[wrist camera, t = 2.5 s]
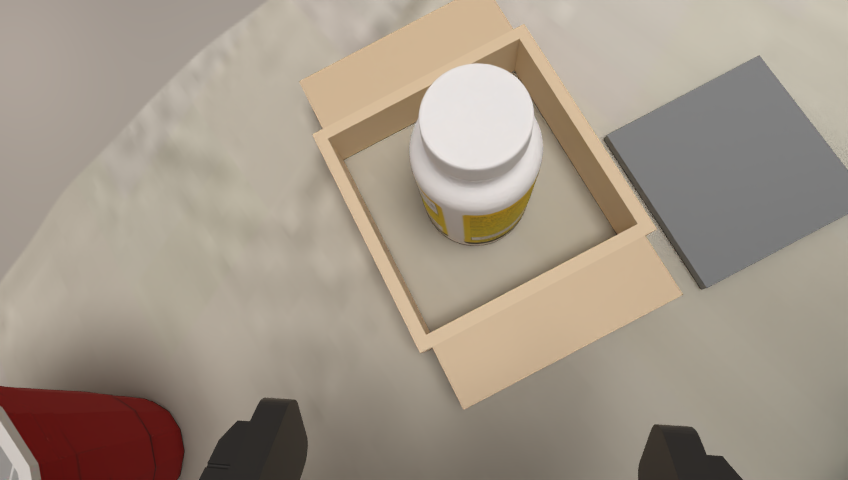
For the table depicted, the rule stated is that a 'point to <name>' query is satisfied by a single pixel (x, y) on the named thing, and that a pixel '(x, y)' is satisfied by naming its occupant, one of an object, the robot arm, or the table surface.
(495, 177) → the supplement bottle
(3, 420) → the plastic cup
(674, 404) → the table surface
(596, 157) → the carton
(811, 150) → the coaster
